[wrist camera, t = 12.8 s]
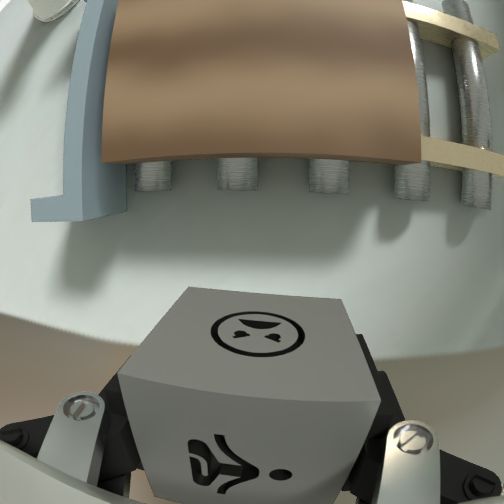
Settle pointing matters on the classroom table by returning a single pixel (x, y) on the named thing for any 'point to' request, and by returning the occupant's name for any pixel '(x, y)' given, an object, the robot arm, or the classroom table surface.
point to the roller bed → (432, 150)
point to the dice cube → (249, 399)
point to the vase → (50, 8)
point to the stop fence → (87, 130)
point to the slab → (261, 81)
